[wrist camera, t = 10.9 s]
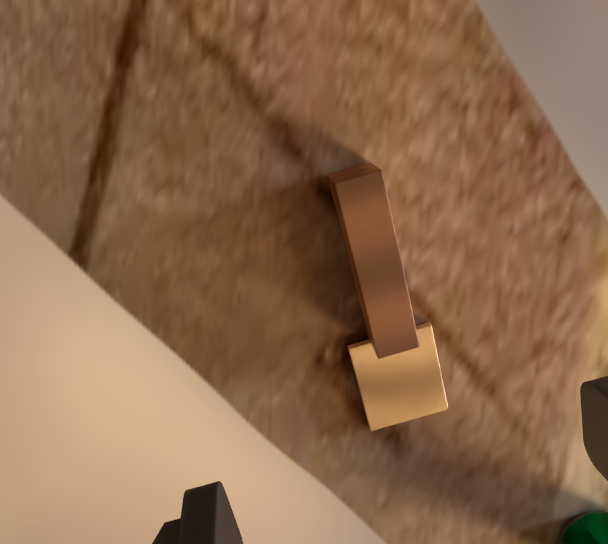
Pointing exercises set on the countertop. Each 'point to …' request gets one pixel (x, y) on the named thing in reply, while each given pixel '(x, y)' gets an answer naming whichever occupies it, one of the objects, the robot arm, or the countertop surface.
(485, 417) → the countertop surface
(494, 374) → the countertop surface
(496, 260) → the countertop surface
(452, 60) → the countertop surface
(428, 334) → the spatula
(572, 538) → the soda can
